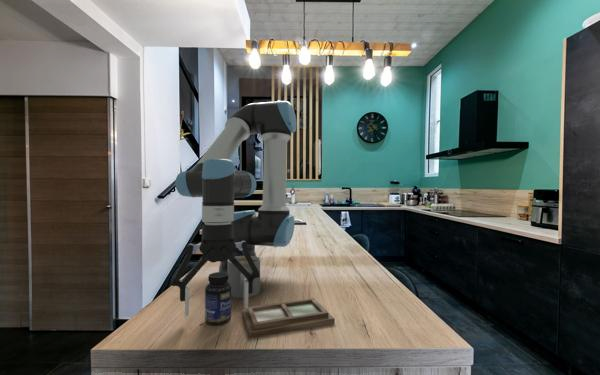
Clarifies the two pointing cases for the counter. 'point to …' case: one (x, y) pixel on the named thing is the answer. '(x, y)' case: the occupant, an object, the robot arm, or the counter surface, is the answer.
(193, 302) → the counter surface
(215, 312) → the pill bottle
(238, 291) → the coffee mug
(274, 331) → the divided wooden tray
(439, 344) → the counter surface
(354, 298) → the counter surface
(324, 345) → the counter surface
